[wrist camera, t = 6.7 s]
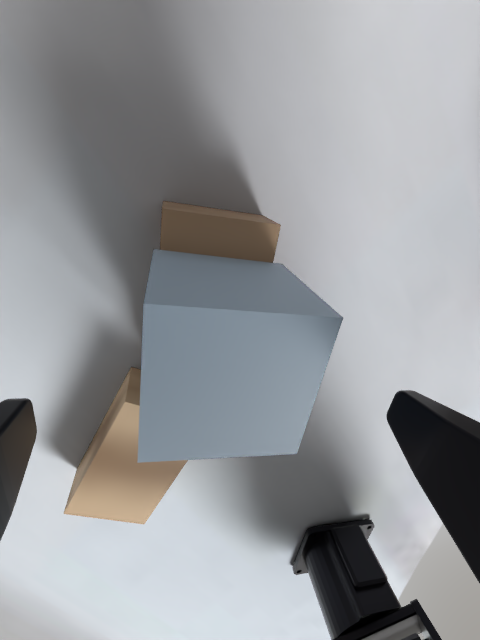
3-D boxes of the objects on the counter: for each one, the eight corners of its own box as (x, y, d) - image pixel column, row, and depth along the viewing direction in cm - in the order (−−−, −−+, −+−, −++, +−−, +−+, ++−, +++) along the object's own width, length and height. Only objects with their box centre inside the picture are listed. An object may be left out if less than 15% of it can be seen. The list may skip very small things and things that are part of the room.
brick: (147, 478, 20) (144, 524, 18) (78, 464, 19) (63, 513, 16) (204, 388, 18) (210, 426, 15) (131, 363, 16) (124, 401, 14)
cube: (258, 366, 14) (296, 454, 10) (147, 364, 13) (137, 462, 9) (281, 263, 12) (343, 318, 8) (153, 249, 11) (143, 303, 7)
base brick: (234, 358, 18) (246, 392, 15) (155, 357, 17) (153, 393, 14) (260, 214, 14) (280, 224, 12) (163, 200, 13) (161, 208, 11)
